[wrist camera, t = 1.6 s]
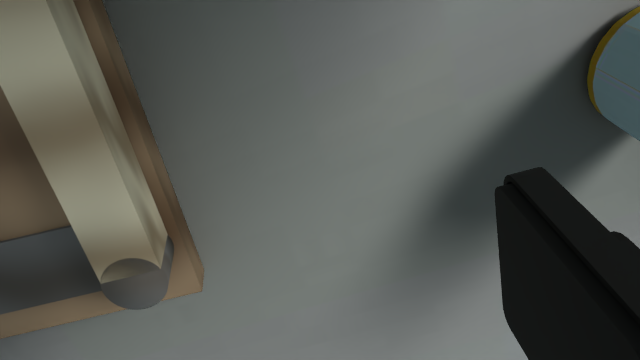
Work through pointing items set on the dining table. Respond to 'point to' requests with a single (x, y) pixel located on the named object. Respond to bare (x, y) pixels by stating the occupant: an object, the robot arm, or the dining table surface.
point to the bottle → (618, 74)
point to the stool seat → (52, 223)
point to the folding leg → (84, 148)
